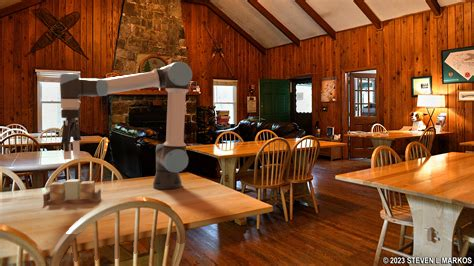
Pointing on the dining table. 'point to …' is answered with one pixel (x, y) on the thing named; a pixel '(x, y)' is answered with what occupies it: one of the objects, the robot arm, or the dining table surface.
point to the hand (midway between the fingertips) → (72, 156)
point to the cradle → (86, 196)
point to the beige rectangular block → (72, 189)
